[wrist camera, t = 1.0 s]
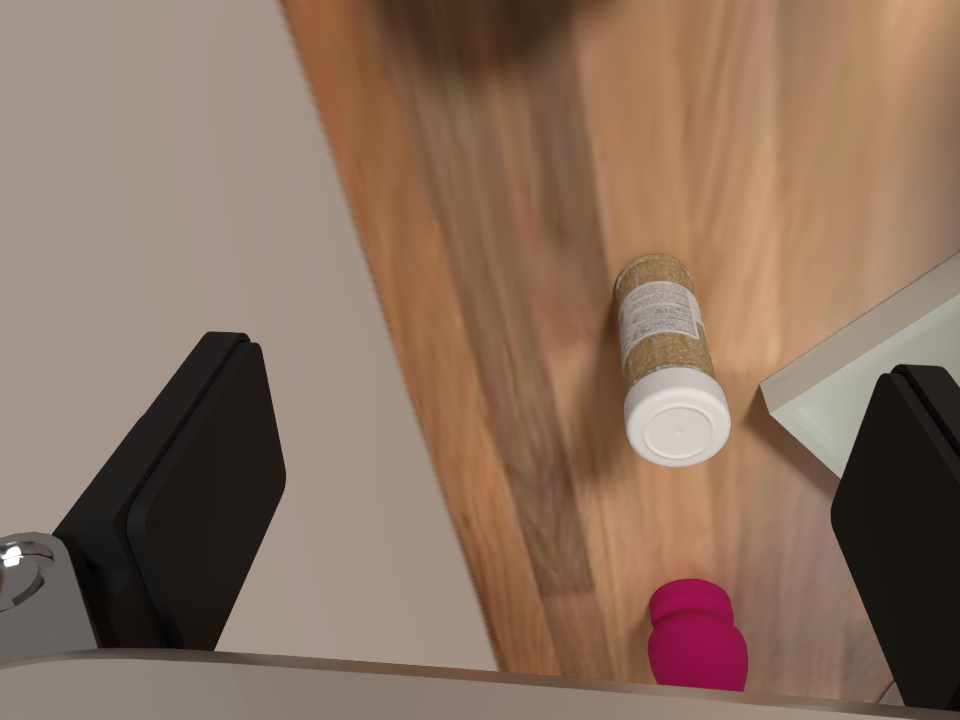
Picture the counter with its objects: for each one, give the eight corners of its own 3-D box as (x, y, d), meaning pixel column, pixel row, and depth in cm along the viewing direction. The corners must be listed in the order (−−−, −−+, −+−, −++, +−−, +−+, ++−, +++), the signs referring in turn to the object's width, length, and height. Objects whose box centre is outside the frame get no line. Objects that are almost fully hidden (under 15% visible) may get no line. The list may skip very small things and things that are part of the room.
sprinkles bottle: (682, 322, 45) (716, 478, 34) (607, 313, 45) (616, 464, 34) (701, 255, 42) (745, 399, 31) (621, 245, 42) (637, 385, 31)
